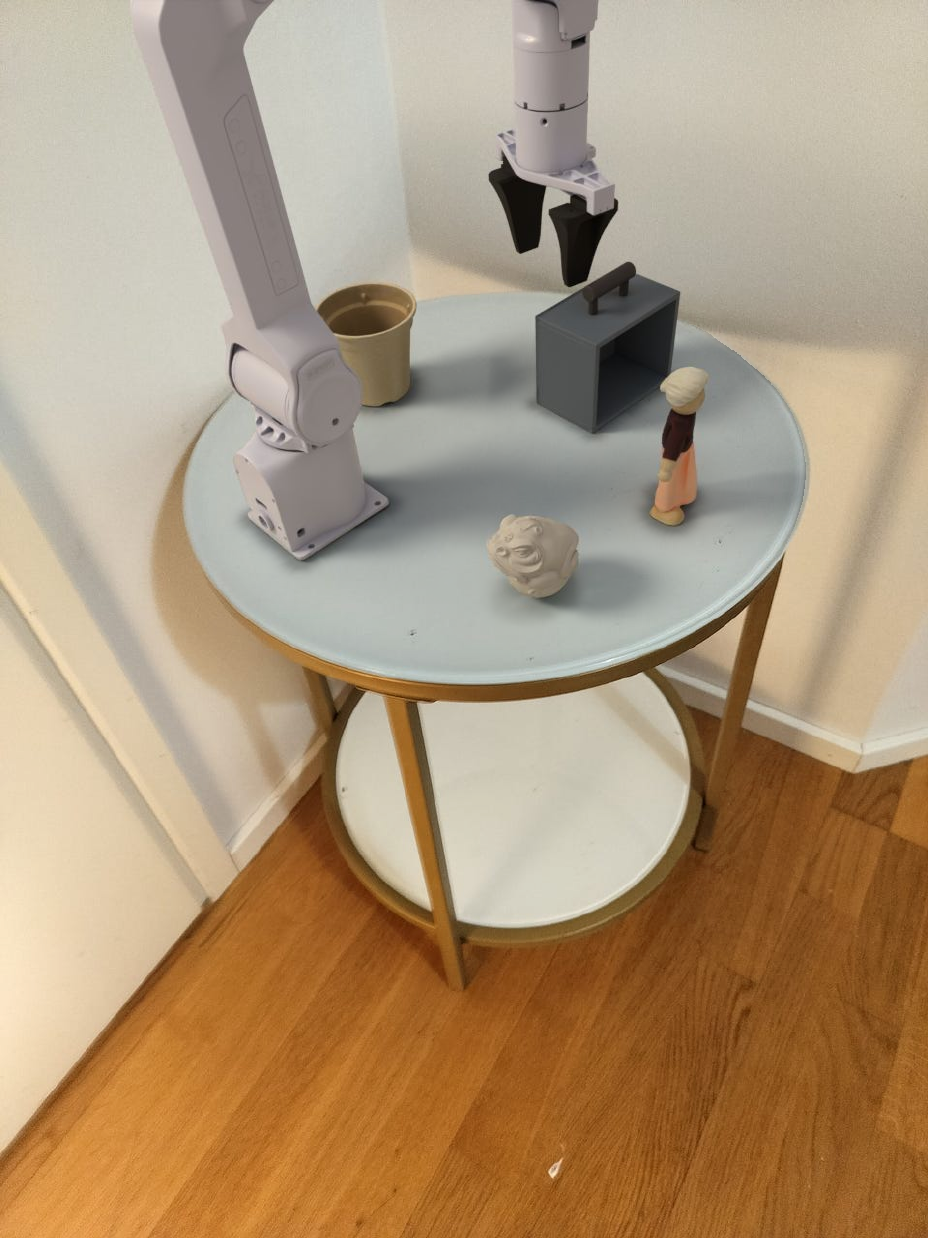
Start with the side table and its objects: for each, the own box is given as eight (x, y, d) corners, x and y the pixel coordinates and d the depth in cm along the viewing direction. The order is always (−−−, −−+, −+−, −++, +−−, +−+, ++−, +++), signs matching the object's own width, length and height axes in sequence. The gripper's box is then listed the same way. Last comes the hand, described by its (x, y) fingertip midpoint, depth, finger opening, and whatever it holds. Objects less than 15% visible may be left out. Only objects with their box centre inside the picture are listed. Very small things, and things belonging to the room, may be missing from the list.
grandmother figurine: (695, 535, 68) (719, 401, 59) (646, 533, 69) (661, 399, 60) (694, 472, 73) (716, 339, 64) (648, 470, 74) (663, 338, 64)
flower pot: (424, 415, 81) (413, 333, 75) (325, 420, 82) (306, 339, 76) (428, 359, 88) (419, 278, 81) (337, 364, 88) (320, 284, 82)
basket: (536, 403, 81) (592, 433, 78) (534, 286, 73) (597, 314, 69) (613, 352, 86) (670, 379, 82) (620, 236, 77) (684, 261, 73)
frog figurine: (478, 575, 67) (471, 509, 62) (559, 548, 69) (560, 480, 63) (508, 630, 64) (504, 564, 58) (594, 600, 65) (598, 532, 60)
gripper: (651, 110, 64) (637, 283, 74) (541, 62, 73) (542, 222, 83) (573, 136, 62) (570, 310, 72) (469, 83, 71) (479, 245, 81)
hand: (551, 265), depth 78 cm, fingers open, 7 cm apart
